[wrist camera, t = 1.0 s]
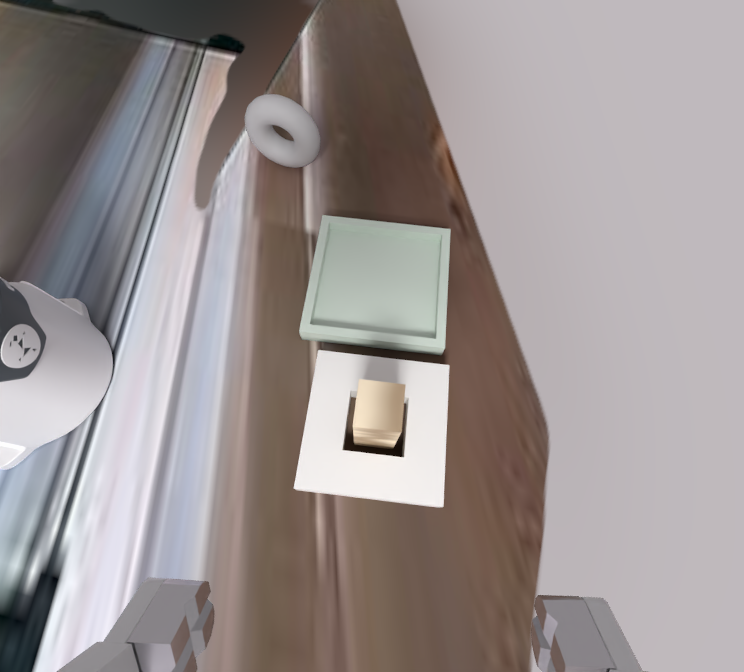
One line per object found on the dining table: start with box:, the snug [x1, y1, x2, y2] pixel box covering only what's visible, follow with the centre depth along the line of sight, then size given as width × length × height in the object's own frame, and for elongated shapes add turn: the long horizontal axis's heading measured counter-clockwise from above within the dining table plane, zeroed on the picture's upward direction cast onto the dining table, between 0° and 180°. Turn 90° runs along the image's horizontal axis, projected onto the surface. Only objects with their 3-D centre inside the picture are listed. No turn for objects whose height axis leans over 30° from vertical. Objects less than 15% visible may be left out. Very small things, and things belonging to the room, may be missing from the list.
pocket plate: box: [294, 350, 449, 508], centre depth 43 cm, size 14×14×2 cm
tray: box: [299, 215, 451, 355], centre depth 50 cm, size 16×16×2 cm
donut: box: [245, 94, 321, 168], centre depth 54 cm, size 10×4×10 cm, turn 73°
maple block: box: [353, 379, 406, 450], centre depth 39 cm, size 4×4×10 cm
